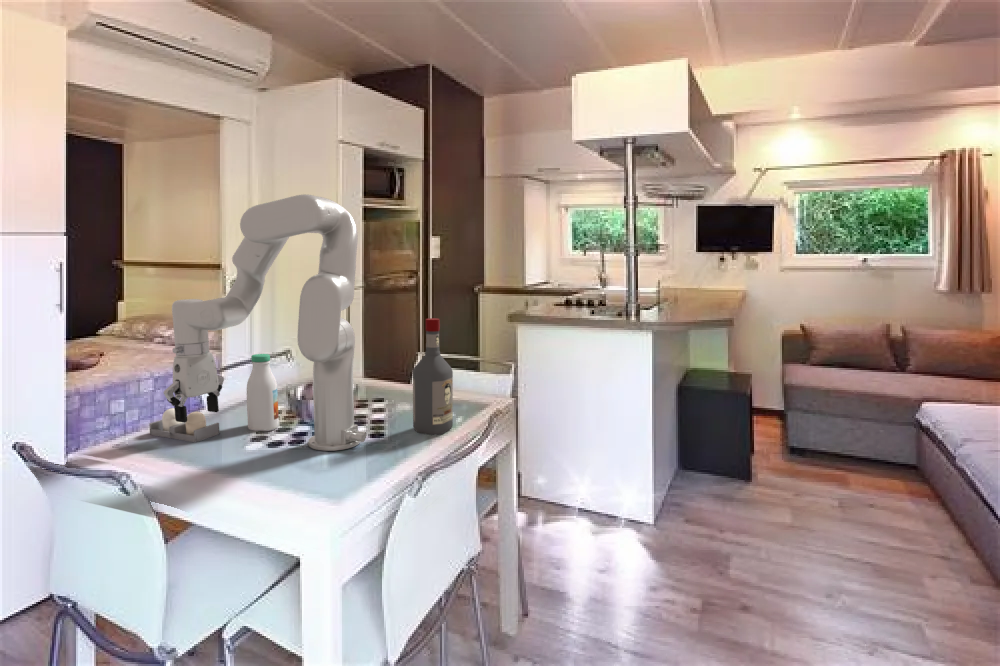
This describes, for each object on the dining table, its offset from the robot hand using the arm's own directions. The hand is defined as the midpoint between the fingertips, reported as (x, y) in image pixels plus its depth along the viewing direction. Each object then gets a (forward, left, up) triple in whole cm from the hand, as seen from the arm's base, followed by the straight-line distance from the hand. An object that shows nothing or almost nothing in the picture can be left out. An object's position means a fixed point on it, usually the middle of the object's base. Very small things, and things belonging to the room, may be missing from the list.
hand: (197, 416), depth 153 cm
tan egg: (+1, 0, -5) cm, 5 cm away
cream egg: (+9, 0, -5) cm, 10 cm away
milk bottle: (-8, -13, -6) cm, 17 cm away
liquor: (-50, -30, -6) cm, 59 cm away
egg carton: (+5, 0, -6) cm, 7 cm away
